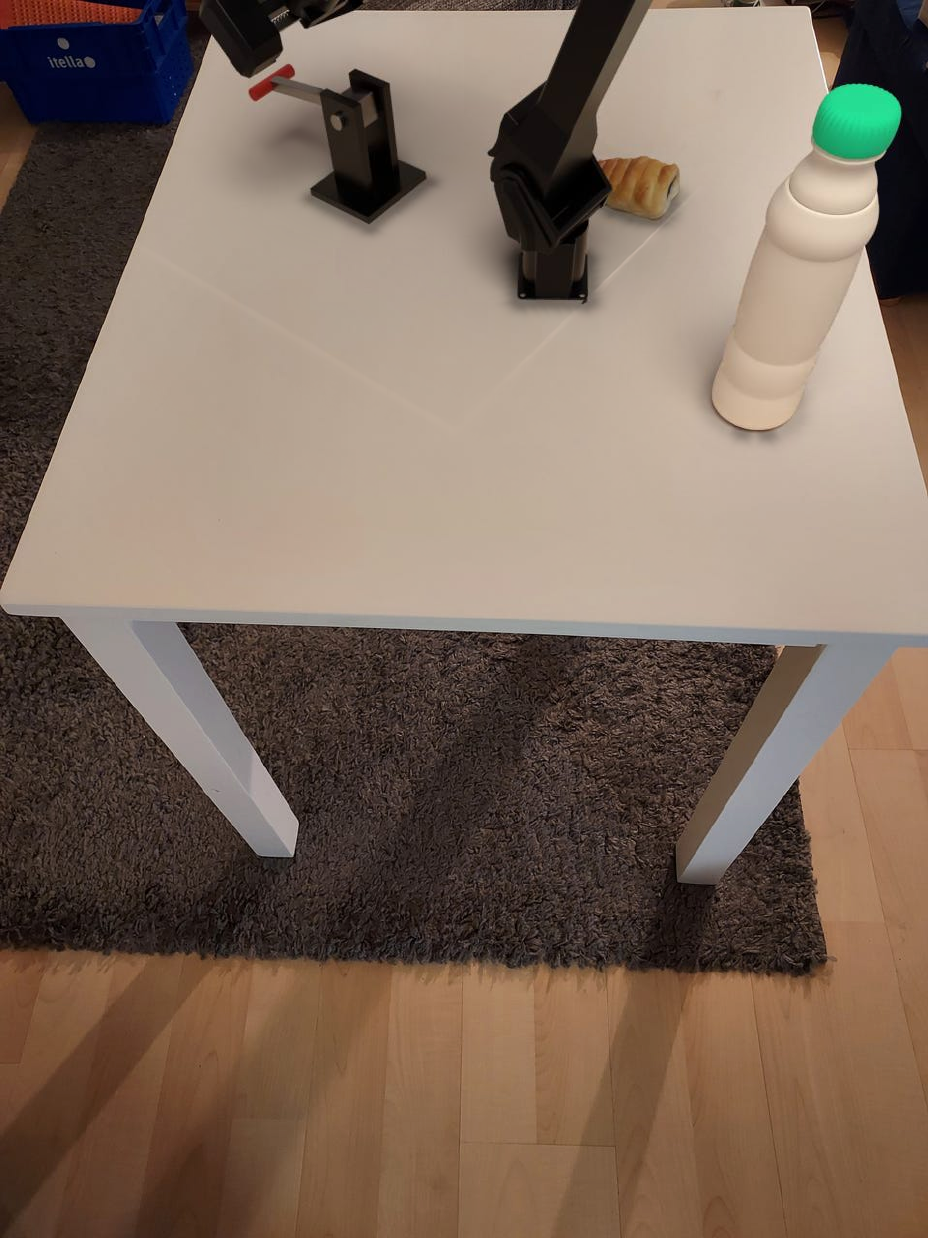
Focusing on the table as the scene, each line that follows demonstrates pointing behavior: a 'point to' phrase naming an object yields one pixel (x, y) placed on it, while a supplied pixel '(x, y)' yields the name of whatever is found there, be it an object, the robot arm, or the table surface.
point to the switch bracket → (363, 153)
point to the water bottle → (806, 259)
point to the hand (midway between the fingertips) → (269, 44)
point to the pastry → (641, 185)
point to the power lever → (311, 92)
